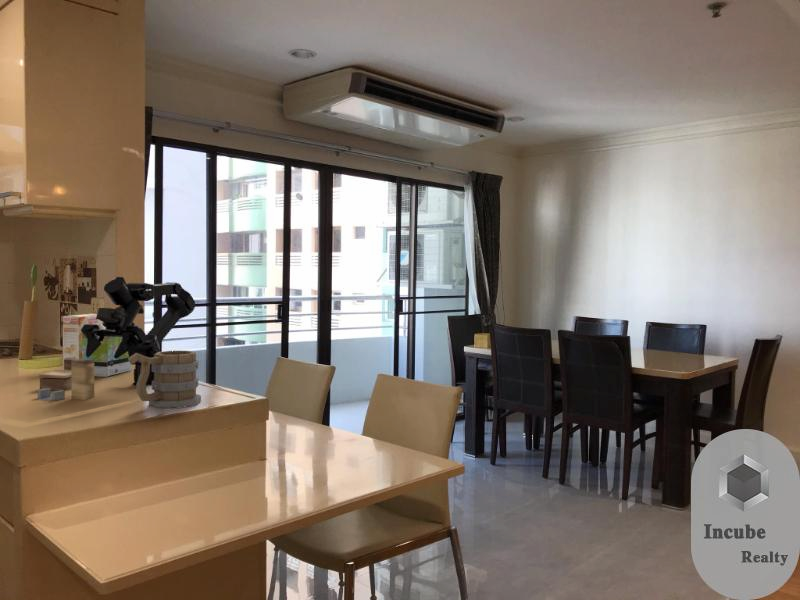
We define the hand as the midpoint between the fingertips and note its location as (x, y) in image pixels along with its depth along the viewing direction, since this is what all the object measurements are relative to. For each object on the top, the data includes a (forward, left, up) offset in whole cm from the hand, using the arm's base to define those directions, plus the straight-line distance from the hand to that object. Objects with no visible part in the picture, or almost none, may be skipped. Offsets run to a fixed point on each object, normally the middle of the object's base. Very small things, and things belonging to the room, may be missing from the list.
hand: (100, 357), depth 185 cm
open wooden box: (+16, -8, -11) cm, 21 cm away
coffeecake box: (+34, -48, -12) cm, 60 cm away
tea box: (+20, -38, -12) cm, 45 cm away
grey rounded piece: (+9, +9, -11) cm, 17 cm away
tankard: (-23, +8, -12) cm, 27 cm away
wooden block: (+1, +7, -11) cm, 14 cm away
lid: (+16, -8, -7) cm, 19 cm away
